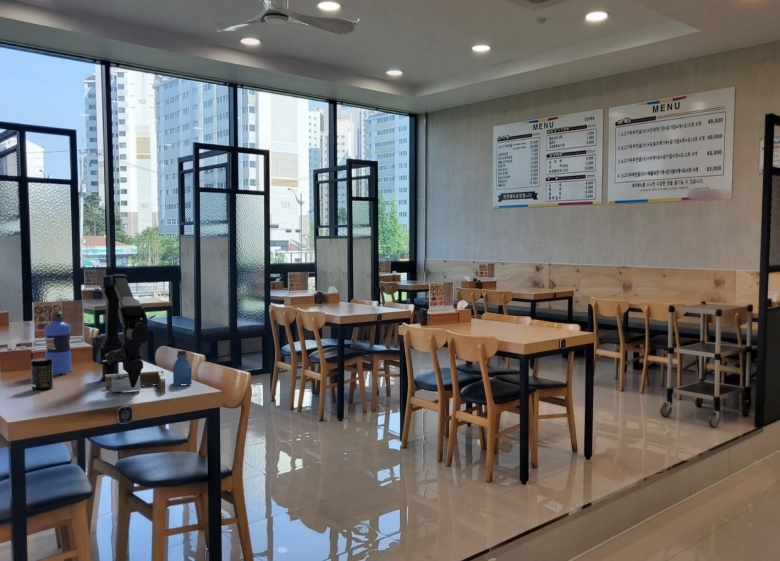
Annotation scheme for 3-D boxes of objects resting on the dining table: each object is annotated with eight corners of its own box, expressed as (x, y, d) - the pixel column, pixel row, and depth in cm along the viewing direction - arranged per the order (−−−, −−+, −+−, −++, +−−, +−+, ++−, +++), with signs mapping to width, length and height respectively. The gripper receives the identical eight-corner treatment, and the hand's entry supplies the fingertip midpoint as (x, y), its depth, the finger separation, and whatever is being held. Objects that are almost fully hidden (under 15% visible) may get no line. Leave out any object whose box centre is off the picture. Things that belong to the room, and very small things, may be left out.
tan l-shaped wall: (105, 388, 228) (105, 374, 227) (163, 383, 235) (163, 370, 235) (105, 398, 211) (104, 383, 211) (167, 393, 219) (167, 379, 218)
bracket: (139, 384, 228) (139, 373, 228) (140, 389, 220) (140, 378, 220) (111, 387, 225) (111, 375, 224) (111, 392, 216) (111, 380, 216)
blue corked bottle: (191, 384, 233) (191, 351, 232) (173, 386, 231) (172, 352, 231) (191, 381, 239) (190, 349, 238) (173, 382, 237) (173, 350, 236)
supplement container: (57, 388, 229) (56, 358, 228) (40, 391, 222) (39, 361, 222) (44, 386, 231) (43, 357, 231) (27, 390, 225) (26, 360, 225)
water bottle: (54, 376, 251) (53, 312, 250) (40, 374, 256) (38, 311, 255) (76, 372, 259) (75, 310, 258) (62, 370, 264) (61, 309, 263)
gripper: (106, 338, 226) (107, 383, 226) (105, 345, 208) (106, 393, 209) (140, 337, 230) (141, 380, 231) (142, 343, 213) (143, 390, 213)
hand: (132, 386), depth 221 cm, fingers closed on bracket, 4 cm apart
